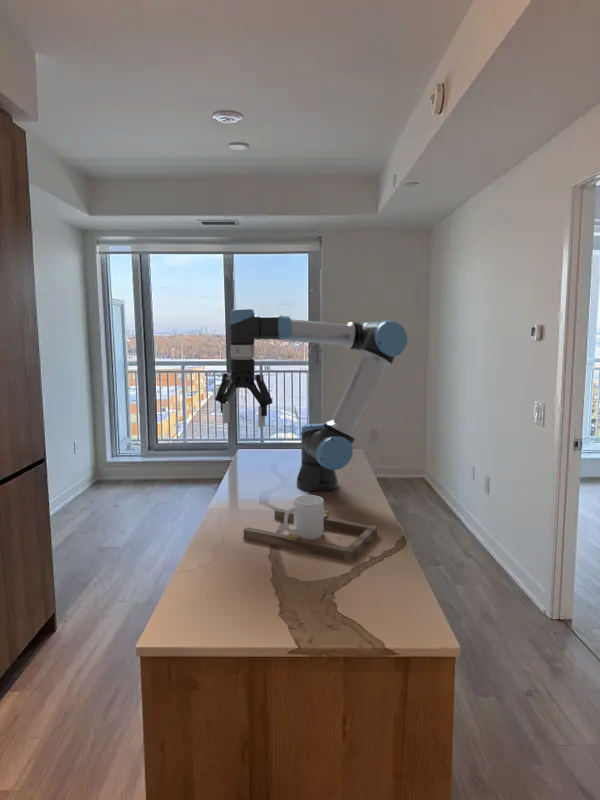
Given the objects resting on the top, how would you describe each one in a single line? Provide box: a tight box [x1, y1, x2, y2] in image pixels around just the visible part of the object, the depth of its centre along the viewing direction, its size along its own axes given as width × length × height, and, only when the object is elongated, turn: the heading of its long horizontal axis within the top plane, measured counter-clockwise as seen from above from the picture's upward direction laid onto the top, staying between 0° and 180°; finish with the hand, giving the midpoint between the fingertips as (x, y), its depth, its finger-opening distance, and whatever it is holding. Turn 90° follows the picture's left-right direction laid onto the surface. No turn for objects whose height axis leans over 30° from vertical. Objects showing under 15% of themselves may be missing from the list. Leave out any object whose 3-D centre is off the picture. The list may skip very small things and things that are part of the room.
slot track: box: [243, 508, 378, 562], centre depth 146 cm, size 22×32×3 cm
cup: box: [283, 494, 325, 541], centre depth 145 cm, size 8×12×10 cm
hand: (243, 424), depth 168 cm, fingers open, 13 cm apart
